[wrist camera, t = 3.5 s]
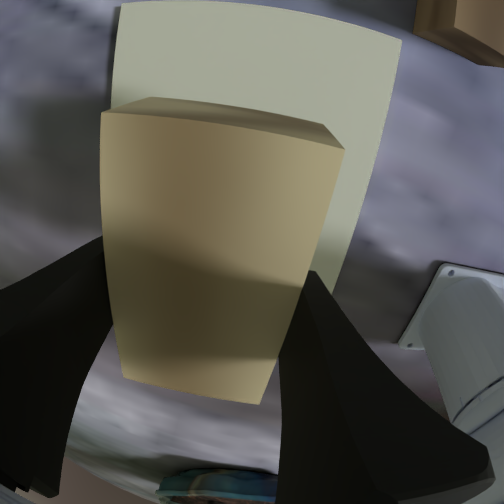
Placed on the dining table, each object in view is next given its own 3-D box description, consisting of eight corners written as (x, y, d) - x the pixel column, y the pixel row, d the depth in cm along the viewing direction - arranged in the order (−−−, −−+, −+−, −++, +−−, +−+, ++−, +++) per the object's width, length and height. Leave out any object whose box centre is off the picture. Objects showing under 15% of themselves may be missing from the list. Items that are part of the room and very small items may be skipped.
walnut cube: (485, 2, 10) (532, -5, 6) (477, 64, 12) (526, 71, 8) (420, -33, 10) (460, -54, 6) (411, 33, 12) (454, 26, 8)
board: (397, 41, 12) (402, 40, 12) (319, 316, 22) (320, 323, 21) (126, 5, 12) (121, 3, 11) (121, 284, 21) (118, 290, 21)
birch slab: (323, 123, 8) (345, 149, 6) (262, 344, 13) (258, 404, 11) (150, 96, 8) (101, 112, 6) (146, 322, 13) (123, 377, 10)
